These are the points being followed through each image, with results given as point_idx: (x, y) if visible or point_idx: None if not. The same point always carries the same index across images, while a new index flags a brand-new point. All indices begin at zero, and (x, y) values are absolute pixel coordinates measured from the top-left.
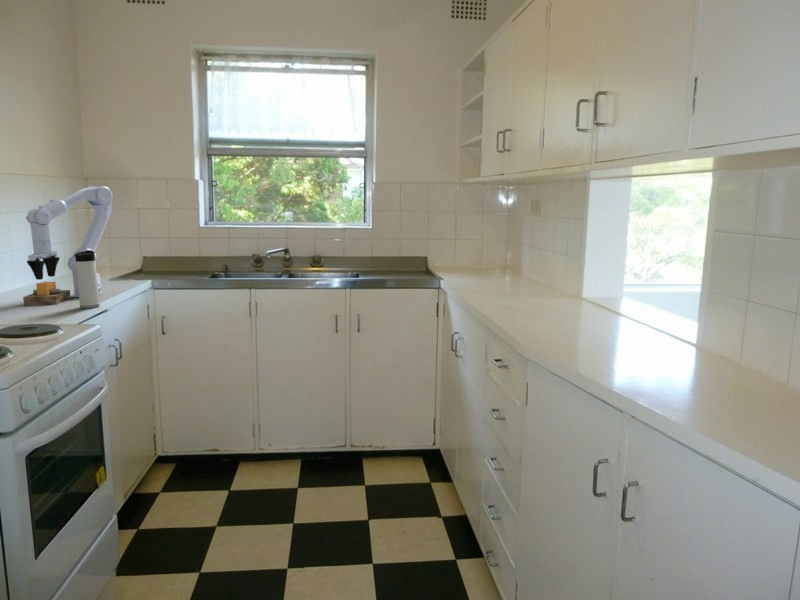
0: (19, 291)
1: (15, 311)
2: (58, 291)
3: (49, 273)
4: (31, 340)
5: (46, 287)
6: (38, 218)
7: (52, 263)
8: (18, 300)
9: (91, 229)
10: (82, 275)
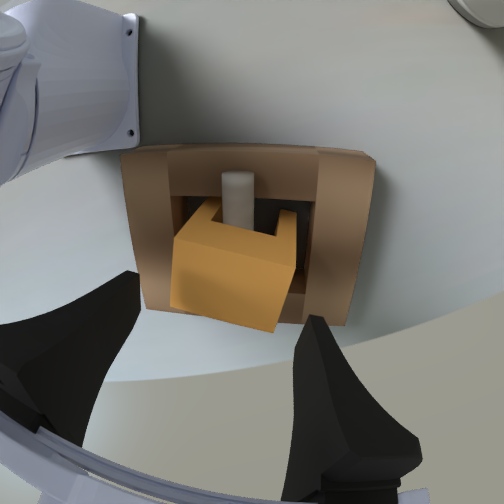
0: None
1: (469, 283)
2: (253, 178)
3: (129, 318)
4: None
5: (294, 256)
6: None
7: (73, 360)
8: (199, 346)
9: None
10: None
